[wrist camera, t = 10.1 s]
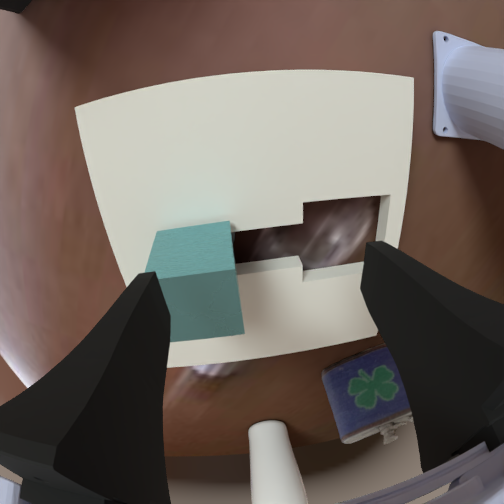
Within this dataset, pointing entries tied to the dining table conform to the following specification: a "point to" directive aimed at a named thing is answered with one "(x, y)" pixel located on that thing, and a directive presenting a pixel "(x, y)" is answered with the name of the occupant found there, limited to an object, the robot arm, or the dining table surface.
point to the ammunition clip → (14, 5)
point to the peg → (198, 280)
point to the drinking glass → (274, 466)
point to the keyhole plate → (254, 186)
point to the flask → (367, 395)
